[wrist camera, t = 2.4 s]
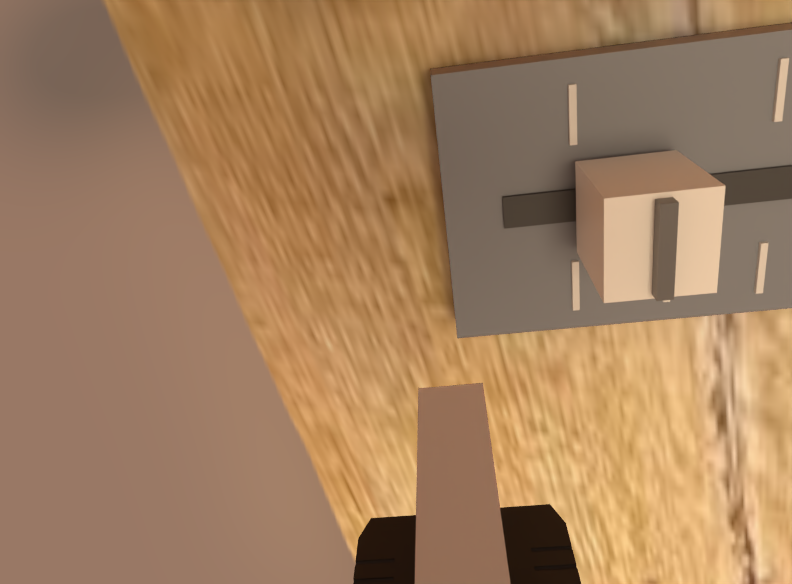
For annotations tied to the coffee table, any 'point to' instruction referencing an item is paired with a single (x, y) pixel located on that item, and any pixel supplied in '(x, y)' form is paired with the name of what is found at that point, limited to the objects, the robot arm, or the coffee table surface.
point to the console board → (603, 138)
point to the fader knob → (648, 226)
